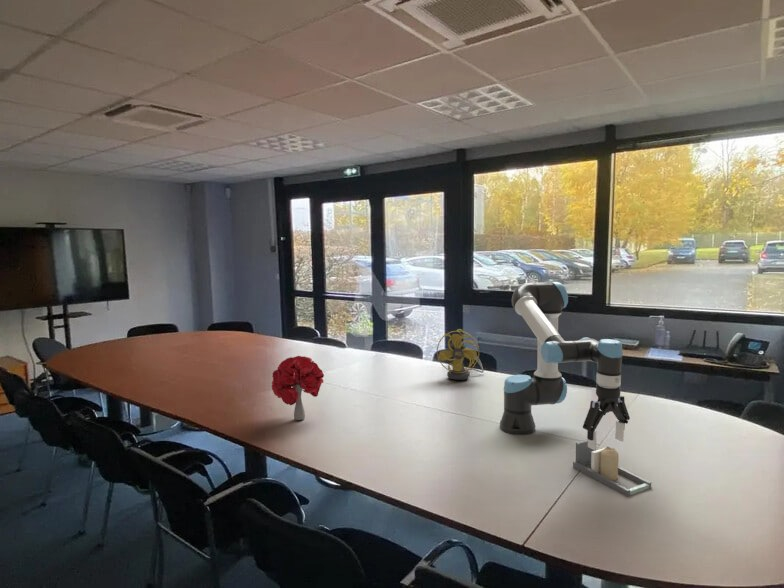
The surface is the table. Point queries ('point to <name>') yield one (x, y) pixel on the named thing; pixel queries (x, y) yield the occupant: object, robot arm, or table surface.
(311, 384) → the bouquet
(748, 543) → the table surface
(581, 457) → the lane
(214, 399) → the table surface
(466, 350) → the electric fan
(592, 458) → the plate
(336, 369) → the table surface
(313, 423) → the table surface
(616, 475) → the candle
